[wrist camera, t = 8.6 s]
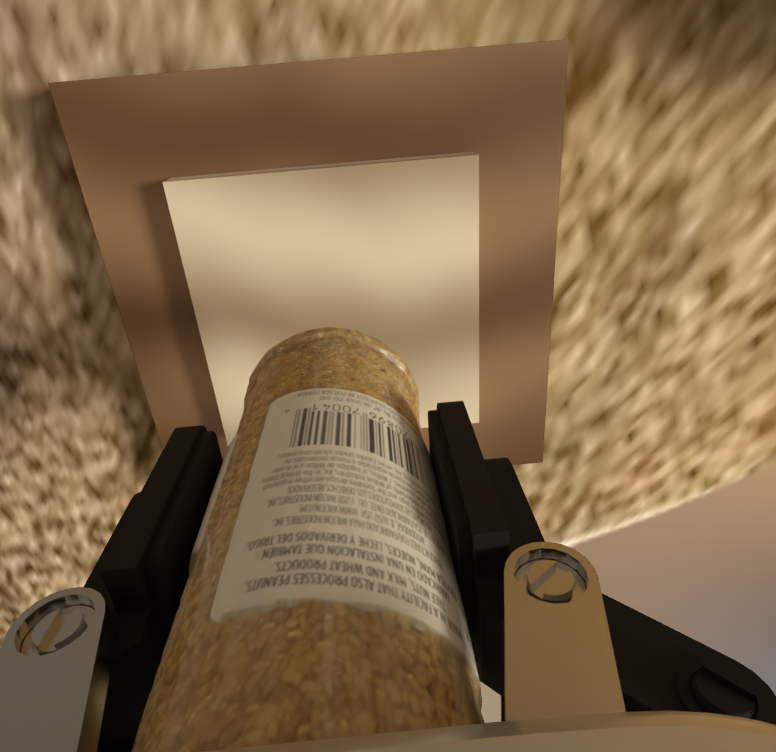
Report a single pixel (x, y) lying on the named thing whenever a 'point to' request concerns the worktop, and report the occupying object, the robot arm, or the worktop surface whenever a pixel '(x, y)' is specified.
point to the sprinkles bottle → (318, 568)
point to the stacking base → (333, 223)
